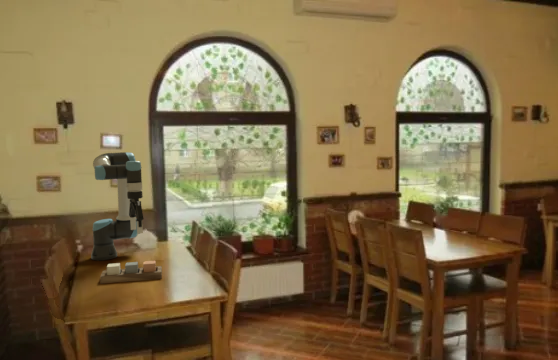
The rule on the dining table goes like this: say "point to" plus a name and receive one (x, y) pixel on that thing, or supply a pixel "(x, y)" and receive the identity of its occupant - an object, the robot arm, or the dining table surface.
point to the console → (131, 276)
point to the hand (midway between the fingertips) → (136, 231)
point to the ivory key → (113, 269)
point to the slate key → (131, 267)
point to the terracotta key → (149, 266)
